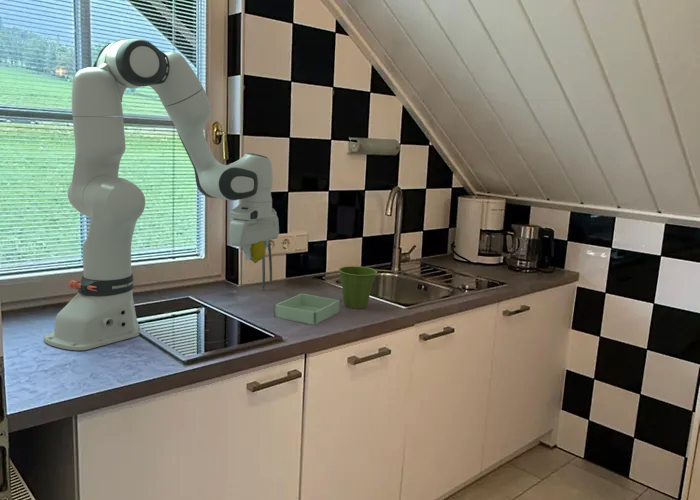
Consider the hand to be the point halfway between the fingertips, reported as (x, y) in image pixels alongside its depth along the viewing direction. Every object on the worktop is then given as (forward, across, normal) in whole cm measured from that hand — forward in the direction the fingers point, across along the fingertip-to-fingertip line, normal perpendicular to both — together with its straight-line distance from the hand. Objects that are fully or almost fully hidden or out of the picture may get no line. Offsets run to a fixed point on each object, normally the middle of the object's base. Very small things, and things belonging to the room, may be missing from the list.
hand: (255, 257), depth 174 cm
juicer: (+15, -20, -14) cm, 29 cm away
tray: (+15, -2, +17) cm, 23 cm away
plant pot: (+15, -18, +25) cm, 34 cm away
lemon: (+2, 0, 0) cm, 2 cm away
